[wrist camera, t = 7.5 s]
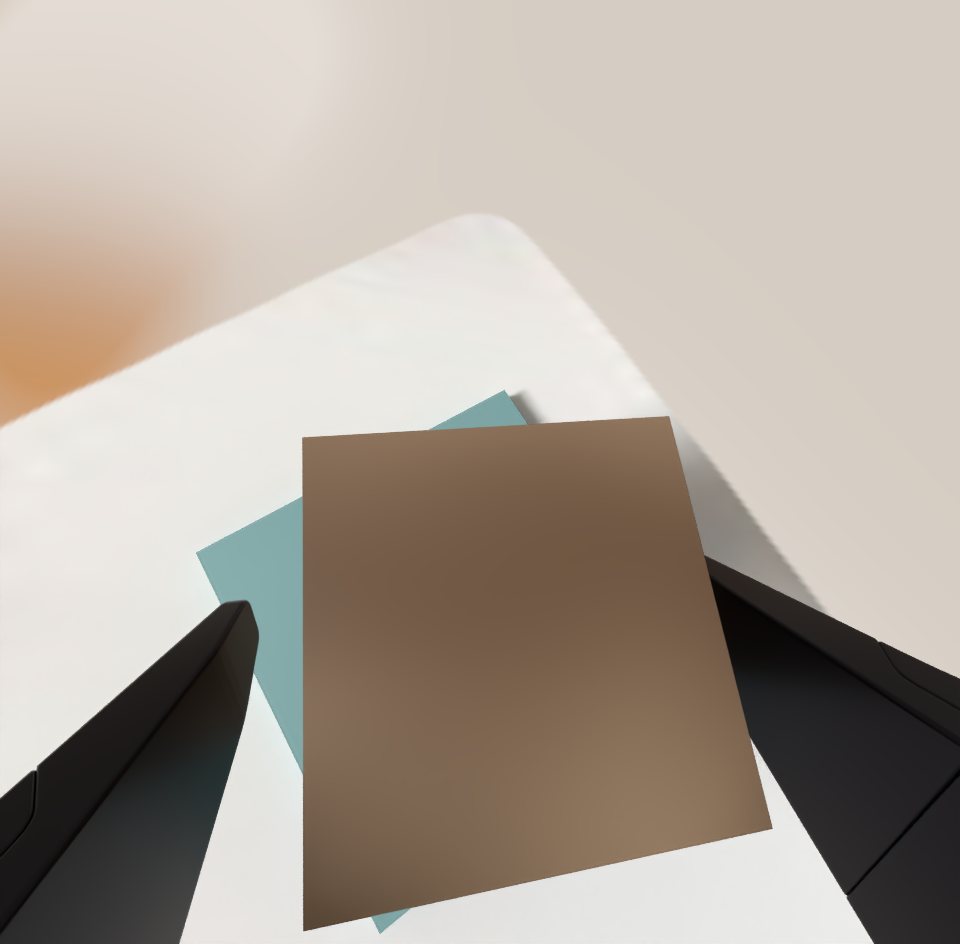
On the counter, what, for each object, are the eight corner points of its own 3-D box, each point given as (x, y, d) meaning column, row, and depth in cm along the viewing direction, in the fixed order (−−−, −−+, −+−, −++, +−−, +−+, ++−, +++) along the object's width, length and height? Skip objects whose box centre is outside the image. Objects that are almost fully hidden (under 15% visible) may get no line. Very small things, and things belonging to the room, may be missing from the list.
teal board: (681, 666, 19) (695, 669, 18) (382, 913, 15) (380, 933, 14) (500, 399, 21) (504, 390, 20) (208, 555, 18) (196, 552, 17)
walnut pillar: (525, 673, 17) (773, 828, 5) (390, 692, 16) (302, 932, 4) (507, 541, 18) (669, 415, 6) (383, 553, 17) (302, 437, 6)
